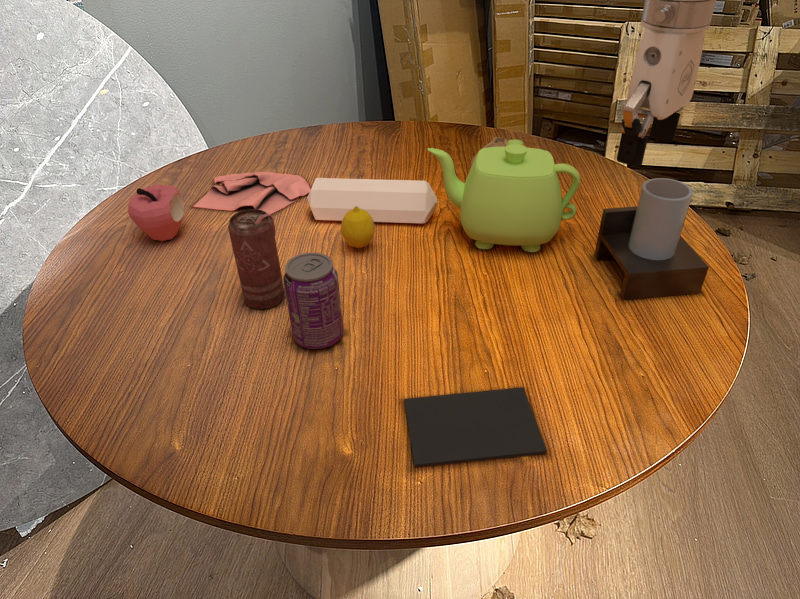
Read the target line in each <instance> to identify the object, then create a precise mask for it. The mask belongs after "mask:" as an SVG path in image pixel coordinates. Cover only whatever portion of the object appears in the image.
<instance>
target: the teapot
mask: <svg viewBox="0 0 800 599" xmlns="http://www.w3.org/2000/svg"><path fill="white" fill-rule="evenodd" d="M482 148H483V147H482ZM482 148H481V149H480V150H478V151H477V153H476V154H477V156H476V158H475V160H474V162H473V164H472V166H471V165H470V169H469V171H468V174H467V176H466V179H465V181H464V182H463V181H462V180H460V179H459V178H458V176H457V174H456V171H455V164H454V161H453V158H452V157H451V155H450V154H449V153H448V152H446V151H445V150H442V149H439V148H435V147H428V148H427V151H428V152H429V153H430V154H432V155H433V156H434V157H435V158H436V159H437V160H438V161H439V164H440V167H441V170H442V176H443V186H444V191H445V194H446V196H447V198H448V199H449V201H450V203H452V204H453V205H454V206H456V208H458V209H459V218H460V224H461V226H462V229H463V230H464V232H465V234H466V236H467V237H469V238H470V239H472V240H474V241H475V243H474V246H475V247H476V248H478V249H480V250H489V249H492V248H493V247H494V245H503V246H520V247H521V249H522V250H523V251H525V252H527V253H528V252H529V253H536V252H539V251H540V250H541V245H543V244H546V243H549V242H550V241H551V240H552V239H553V238H554V237H555V235H557V233H558V232H559V230H560V228H561V222H562V221H569V220H572V219H574V218H575V216H576V215H577V206H576V205H575V204H574V203H572V202H571V201H572V199H573V198H574V196H575V195H576V193H577V192H578V189H579V188H580V184H581V175H580V173H579V171H578V170H577V168H575V167H574V166H572V165H571V164H568V163H555V160H554V157H553V155H552V153H551V152H550V151H548V150H546V149H542V148H535V147H527V146H525V145H524V141H523V140H521V139H507V145H506V147H488V148H483V149H482ZM558 173H566V174H568V175H570V176H571V177H572V183H571V185H570V187H569V189H567V192H566V193H565V194H564V196H562V189H561V183H560V178H559V174H558ZM565 209H569V211H565Z"/></svg>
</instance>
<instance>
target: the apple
mask: <svg viewBox="0 0 800 599" xmlns="http://www.w3.org/2000/svg"><path fill="white" fill-rule="evenodd" d="M127 205H128V206H127V213H128V216H129V218H130V220H132V222H133V223H134V224H135V225H136V226H137V227H138V228H139V229H140V230H141V231H142V232H143V233H145V234H146V235H147V236H148V237H149V238H150V239H151V240H152V241H160V242H164V241H167V240H173V239H174V238H175V237H176V235H178V232H179V229H180V225H181V223H182V221H183V218H184V215H185V201H184V197H183V194H182V193H181V192H180V190H179V189H177V188H176V187H175V186H174V185H173V184H158V183H157V184H154V185H150V186H147V187H144V188H139V187H138V188H137V189H136V193H135V194H134V195H133V196H132V197H131V198H129V201H128V204H127Z"/></svg>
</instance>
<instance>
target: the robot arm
mask: <svg viewBox="0 0 800 599" xmlns="http://www.w3.org/2000/svg"><path fill="white" fill-rule="evenodd" d="M716 4H717V0H644V5H643V9H642V15H641V20H640V26H641V27H643V28H644V30H643V33H642V36H641V40H640V43H639V46H638V50H637V53H636V58H635V61H634V65H633V69H632V73H631V77H630V81H629V86H628V91H627V97H626V103H625V104H624V106H623V109H622V120H621V128H620V133H621V135H620V138H619V139H620V140H619V144H618V150H617V154H616V155H617V156H616V161H617V162H618V163H621V164H625V165H627V166H628V165H629V166H631V167H634V168H640V167H641V166H642V165H643V162H644V158H645V152H646V148H647V144H648V140H649V137H650V139H653V140H656V141H660V142H664V143H668V144H671V143H673V142H674V140H675V138H676V134H677V130H678V126H679V123H680V122H679V121H680V117H681V112H682V110H683V108H684V106H686V105H687V104H688V103H689V102H690V101H691V100H692V98H693V95H694V91H695V86H696V83H697V78H698V74H699V68H700V63H701V59H702V55H703V48H704V43H705V37H706V31H707V30H709V29H710V27H711V26H710V25H711V22H712V18H713V14H714V10H715V6H716ZM647 109H648V110H647ZM637 117H639V118H637ZM640 118H643V119H644V120H643V122H642V124H641V120H640ZM650 126H651V127H650ZM649 128H650V132H649V136H648V135H647V133H648V131H649Z"/></svg>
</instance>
